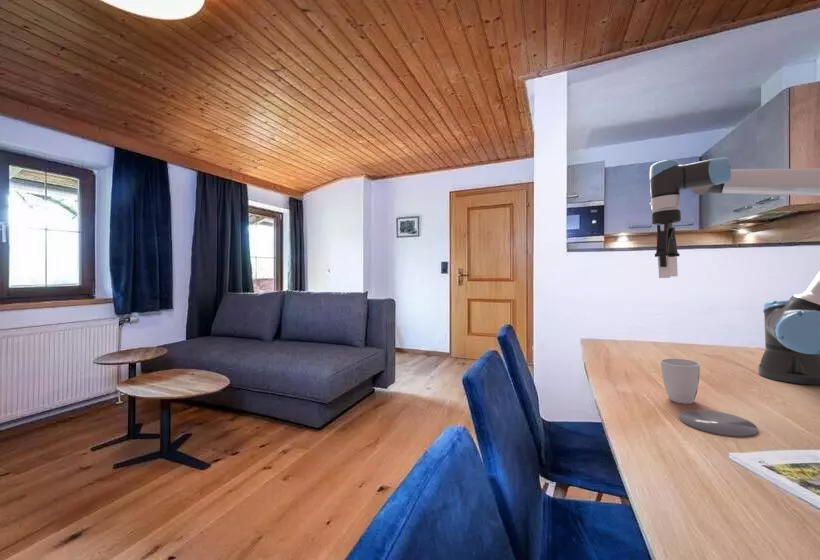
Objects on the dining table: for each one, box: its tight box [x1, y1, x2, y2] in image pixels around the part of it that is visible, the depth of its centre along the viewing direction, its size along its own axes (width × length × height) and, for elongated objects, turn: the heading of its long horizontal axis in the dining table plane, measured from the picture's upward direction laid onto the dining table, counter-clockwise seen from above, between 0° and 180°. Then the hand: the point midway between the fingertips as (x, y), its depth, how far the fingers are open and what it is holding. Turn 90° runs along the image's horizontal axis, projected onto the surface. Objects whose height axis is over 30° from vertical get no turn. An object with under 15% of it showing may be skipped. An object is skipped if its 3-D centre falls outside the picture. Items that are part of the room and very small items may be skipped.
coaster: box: [678, 409, 758, 438], centre depth 78 cm, size 13×13×1 cm
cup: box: [660, 358, 701, 405], centre depth 92 cm, size 8×8×10 cm
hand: (668, 277), depth 113 cm, fingers open, 13 cm apart
